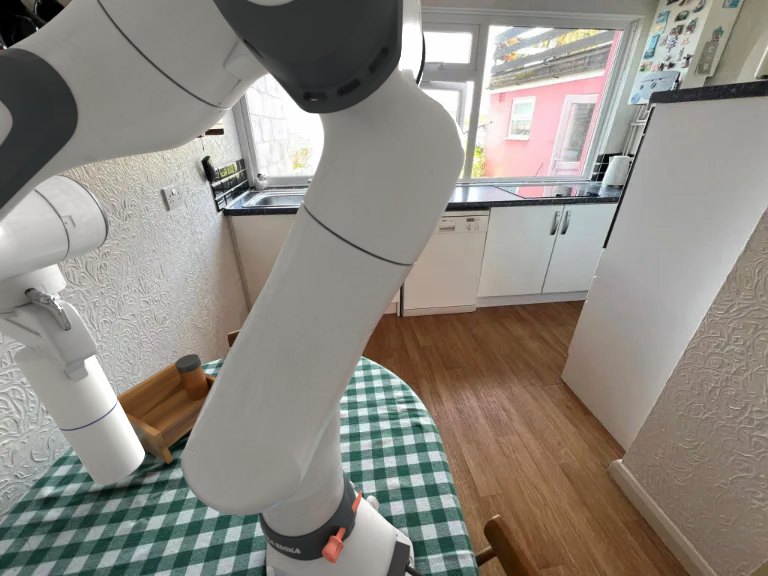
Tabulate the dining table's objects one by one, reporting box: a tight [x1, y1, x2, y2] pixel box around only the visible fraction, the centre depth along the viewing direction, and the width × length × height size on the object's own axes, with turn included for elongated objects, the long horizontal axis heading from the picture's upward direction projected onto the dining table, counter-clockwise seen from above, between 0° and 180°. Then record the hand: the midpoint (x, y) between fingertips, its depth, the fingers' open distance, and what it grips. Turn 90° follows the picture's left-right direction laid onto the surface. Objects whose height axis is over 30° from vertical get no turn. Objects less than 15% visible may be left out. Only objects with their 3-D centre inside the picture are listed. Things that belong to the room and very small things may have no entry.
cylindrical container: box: [13, 346, 146, 486], centre depth 49 cm, size 7×7×25 cm
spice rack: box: [116, 353, 217, 465], centre depth 67 cm, size 12×16×15 cm
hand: (64, 369), depth 45 cm, fingers closed on cylindrical container, 7 cm apart
